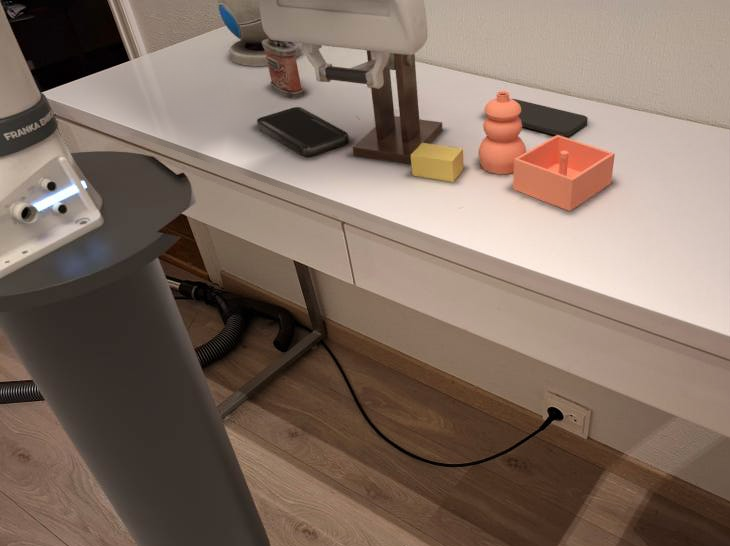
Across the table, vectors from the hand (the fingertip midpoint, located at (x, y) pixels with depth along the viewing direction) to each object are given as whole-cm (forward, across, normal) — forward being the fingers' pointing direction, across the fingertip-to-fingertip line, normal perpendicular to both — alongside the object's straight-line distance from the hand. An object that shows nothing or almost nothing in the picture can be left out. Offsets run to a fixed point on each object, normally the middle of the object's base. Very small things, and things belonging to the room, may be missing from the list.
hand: (350, 83), depth 83 cm
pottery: (+13, +22, +8) cm, 27 cm away
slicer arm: (+1, 0, +6) cm, 6 cm away
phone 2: (+13, +17, +26) cm, 33 cm away
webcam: (+13, -41, +40) cm, 59 cm away
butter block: (+13, +9, +5) cm, 16 cm away
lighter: (+13, -27, +25) cm, 39 cm away
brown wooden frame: (+13, 0, +12) cm, 17 cm away
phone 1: (+13, -15, +10) cm, 22 cm away
